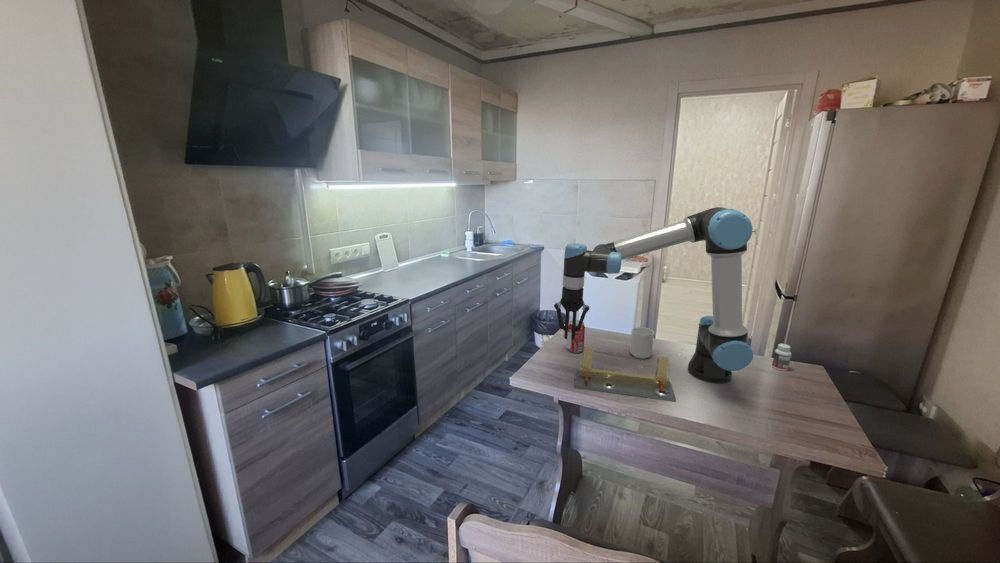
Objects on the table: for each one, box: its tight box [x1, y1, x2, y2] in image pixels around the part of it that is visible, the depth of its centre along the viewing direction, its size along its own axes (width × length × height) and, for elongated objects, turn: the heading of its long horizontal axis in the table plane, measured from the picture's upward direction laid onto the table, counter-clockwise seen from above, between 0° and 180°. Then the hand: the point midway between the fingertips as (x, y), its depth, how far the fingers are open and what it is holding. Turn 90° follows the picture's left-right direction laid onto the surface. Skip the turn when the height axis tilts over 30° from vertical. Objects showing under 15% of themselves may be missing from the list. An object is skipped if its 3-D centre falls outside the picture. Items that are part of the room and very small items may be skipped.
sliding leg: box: [582, 346, 594, 382], centre depth 144 cm, size 3×8×10 cm, turn 165°
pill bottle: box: [771, 343, 792, 372], centre depth 155 cm, size 5×5×10 cm
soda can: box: [567, 319, 586, 354], centre depth 170 cm, size 7×7×13 cm
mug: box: [629, 326, 655, 360], centre depth 167 cm, size 12×9×11 cm
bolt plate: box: [574, 355, 677, 402], centre depth 140 cm, size 34×11×12 cm, turn 75°
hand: (568, 346), depth 146 cm, fingers closed
